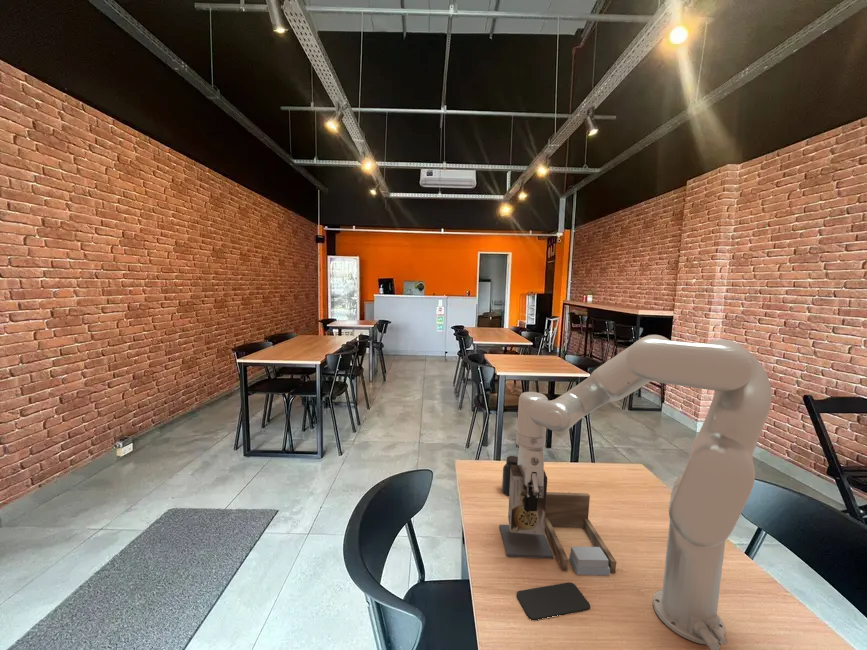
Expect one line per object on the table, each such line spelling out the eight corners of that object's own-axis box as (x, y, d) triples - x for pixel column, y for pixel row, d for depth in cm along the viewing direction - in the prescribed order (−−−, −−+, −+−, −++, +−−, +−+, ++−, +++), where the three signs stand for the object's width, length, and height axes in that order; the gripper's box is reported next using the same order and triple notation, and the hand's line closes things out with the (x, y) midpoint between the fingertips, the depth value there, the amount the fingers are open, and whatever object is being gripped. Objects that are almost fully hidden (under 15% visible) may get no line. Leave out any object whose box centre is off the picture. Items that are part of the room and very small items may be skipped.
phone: (593, 607, 79) (530, 619, 76) (592, 611, 80) (530, 623, 76) (572, 581, 87) (514, 591, 83) (572, 584, 87) (514, 594, 83)
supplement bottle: (497, 489, 127) (499, 455, 126) (513, 485, 130) (515, 452, 129) (509, 499, 121) (511, 464, 120) (526, 495, 124) (528, 461, 122)
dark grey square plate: (553, 558, 94) (553, 555, 94) (507, 556, 94) (507, 554, 94) (540, 528, 106) (540, 526, 106) (499, 527, 106) (499, 524, 106)
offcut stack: (609, 576, 89) (610, 561, 89) (577, 575, 89) (578, 560, 89) (599, 561, 94) (601, 546, 94) (569, 560, 94) (570, 546, 94)
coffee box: (540, 520, 103) (543, 466, 101) (544, 536, 96) (548, 477, 95) (507, 517, 104) (510, 463, 102) (509, 532, 97) (513, 474, 96)
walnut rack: (615, 572, 90) (618, 534, 89) (562, 570, 90) (565, 532, 89) (585, 525, 108) (588, 493, 107) (541, 523, 108) (543, 491, 107)
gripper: (555, 454, 89) (550, 523, 91) (536, 427, 106) (532, 485, 108) (524, 452, 89) (520, 522, 91) (510, 426, 106) (507, 484, 108)
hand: (526, 501), depth 99 cm, fingers closed on coffee box, 6 cm apart
